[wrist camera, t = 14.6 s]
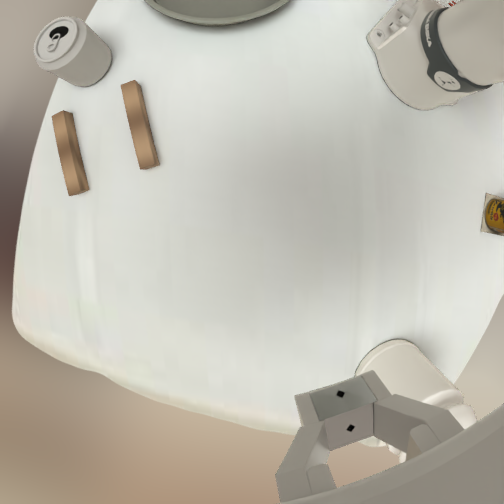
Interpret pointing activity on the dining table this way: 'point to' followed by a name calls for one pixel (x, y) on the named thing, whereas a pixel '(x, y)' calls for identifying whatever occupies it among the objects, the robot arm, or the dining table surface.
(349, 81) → the dining table surface
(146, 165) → the parallel wooden bars
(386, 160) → the dining table surface
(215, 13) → the cake pan
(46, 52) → the can
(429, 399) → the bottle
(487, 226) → the condiment
